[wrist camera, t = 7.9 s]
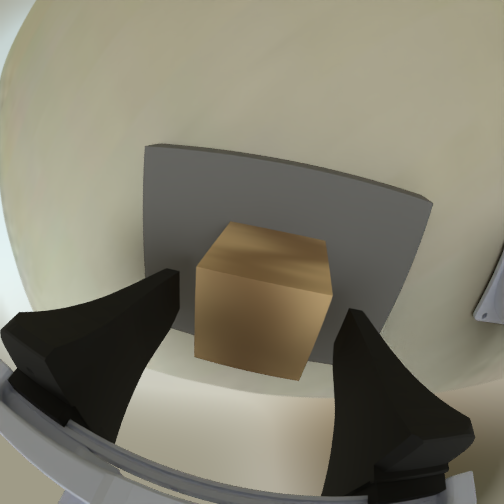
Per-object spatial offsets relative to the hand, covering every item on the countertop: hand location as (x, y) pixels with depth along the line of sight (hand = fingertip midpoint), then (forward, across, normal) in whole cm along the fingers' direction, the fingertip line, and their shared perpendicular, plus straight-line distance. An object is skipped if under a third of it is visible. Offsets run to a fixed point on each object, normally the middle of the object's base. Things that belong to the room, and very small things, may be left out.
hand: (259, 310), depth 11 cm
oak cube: (+3, 0, 0) cm, 3 cm away
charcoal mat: (+4, 0, 0) cm, 4 cm away
